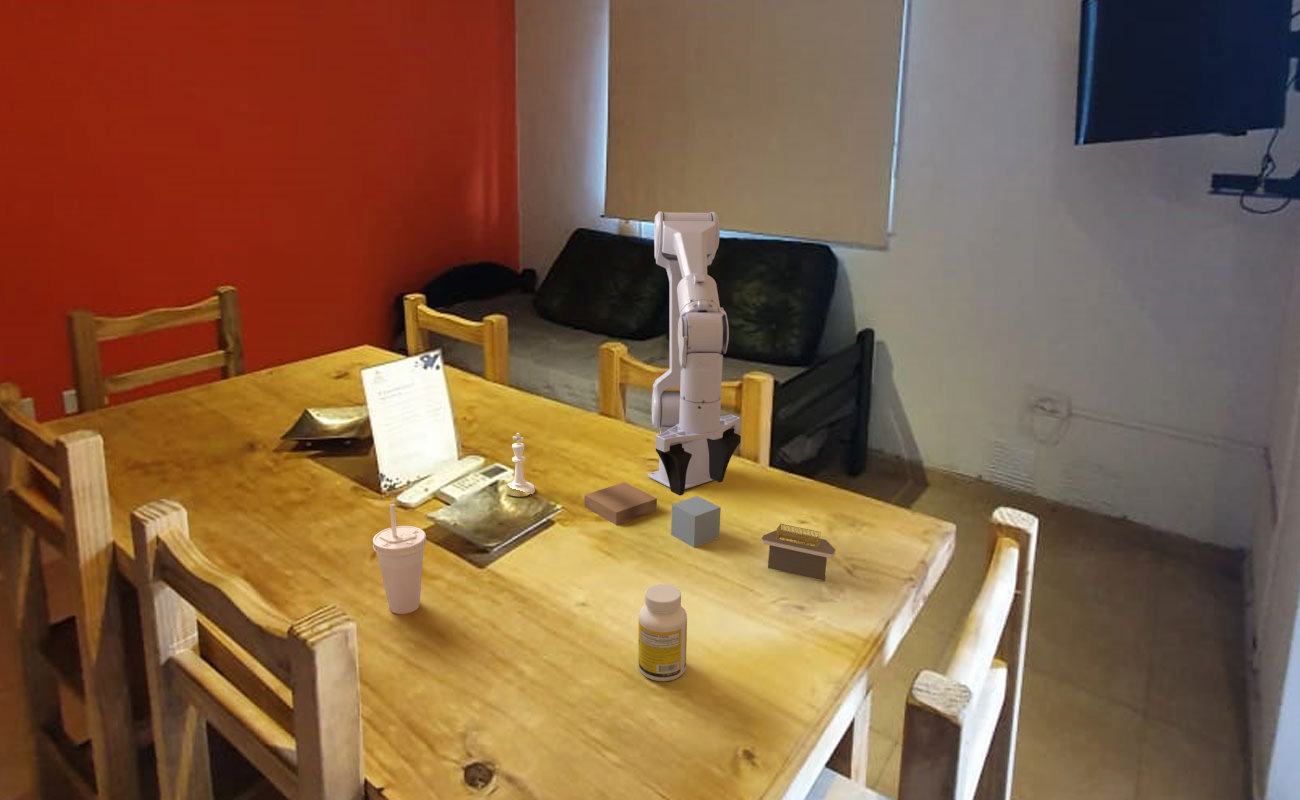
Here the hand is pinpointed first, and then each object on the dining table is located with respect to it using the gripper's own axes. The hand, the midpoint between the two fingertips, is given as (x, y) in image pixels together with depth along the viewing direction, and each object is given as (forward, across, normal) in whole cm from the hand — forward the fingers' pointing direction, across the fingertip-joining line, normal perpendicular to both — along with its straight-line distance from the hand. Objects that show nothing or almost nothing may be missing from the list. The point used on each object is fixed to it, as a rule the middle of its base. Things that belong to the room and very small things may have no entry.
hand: (697, 486), depth 135 cm
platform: (+9, +4, -16) cm, 19 cm away
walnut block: (+8, -3, +14) cm, 17 cm away
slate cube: (+8, 0, 0) cm, 8 cm away
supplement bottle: (+8, -25, -22) cm, 34 cm away
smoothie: (+8, -42, +8) cm, 43 cm away
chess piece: (+8, -12, +29) cm, 32 cm away
